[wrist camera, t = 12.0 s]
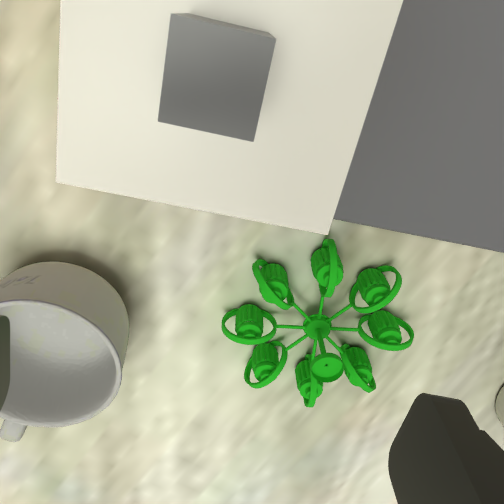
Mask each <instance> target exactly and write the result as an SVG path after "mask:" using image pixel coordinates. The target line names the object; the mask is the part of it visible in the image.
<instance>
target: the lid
mask: <svg viewBox="0 0 504 504" xmlns="http://www.w3.org/2000/svg"><path fill="white" fill-rule="evenodd" d="M402 3H403V0H61V1H60V39H59V76H58V114H57V152H56V183H61V184H67V185H72V186H77V187H82V188H87V189H92V190H97V191H103V192H108V193H113V194H118V195H123V196H128V197H133V198H139V199H144V200H149V201H154V202H159V203H164V204H170V205H175V206H180V207H185V208H190V209H195V210H200V211H206V212H211V213H216V214H221V215H226V216H231V217H236V218H242V219H247V220H252V221H257V222H262V223H267V224H272V225H278V226H283V227H288V228H293V229H298V230H303V231H309V232H314V233H319V234H324V235H328V232H329V229H330V226H331V223H332V220H333V217H334V214H335V211H336V208H337V205H338V201H339V198H340V195H341V192H342V189H343V186H344V183H345V180H346V177H347V174H348V170H349V167H350V164H351V161H352V158H353V155H354V152H355V149H356V146H357V143H358V139H359V136H360V133H361V130H362V127H363V124H364V121H365V118H366V115H367V112H368V108H369V105H370V102H371V99H372V96H373V93H374V90H375V87H376V84H377V80H378V77H379V74H380V71H381V68H382V65H383V62H384V59H385V56H386V53H387V49H388V46H389V43H390V40H391V37H392V34H393V31H394V28H395V25H396V22H397V18H398V15H399V12H400V9H401V6H402Z"/></svg>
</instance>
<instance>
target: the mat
mask: <svg viewBox="0 0 504 504" xmlns="http://www.w3.org/2000/svg"><path fill="white" fill-rule="evenodd" d="M333 219H336V220H341V221H346V222H352V223H357V224H362V225H367V226H372V227H377V228H382V229H387V230H392V231H397V232H402V233H407V234H412V235H417V236H422V237H427V238H432V239H438V240H443V241H448V242H453V243H458V244H463V245H468V246H473V247H478V248H483V249H488V250H493V251H498V252H503V253H504V0H403V3H402V6H401V9H400V12H399V15H398V18H397V22H396V25H395V28H394V31H393V34H392V37H391V40H390V43H389V46H388V49H387V53H386V56H385V59H384V62H383V65H382V68H381V71H380V74H379V77H378V80H377V84H376V87H375V90H374V93H373V96H372V99H371V102H370V105H369V108H368V112H367V115H366V118H365V121H364V124H363V127H362V130H361V133H360V136H359V139H358V143H357V146H356V149H355V152H354V155H353V158H352V161H351V164H350V167H349V170H348V174H347V177H346V180H345V183H344V186H343V189H342V192H341V195H340V198H339V201H338V205H337V208H336V211H335V214H334V217H333Z"/></svg>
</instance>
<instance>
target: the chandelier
mask: <svg viewBox="0 0 504 504" xmlns="http://www.w3.org/2000/svg"><path fill="white" fill-rule="evenodd" d="M328 247H329V248H328ZM328 262H330V263H328ZM324 263H325V264H324ZM259 265H260V266H262V267H263V268H262V269H261V271H260V268H259ZM311 267H312V271H313V275H314V277H315V278H316V279H317V281H318V282H319V289H320V293H321V300H320V307H319V313H318V314H314V315H311V316H309V317H308V316H307V315H306V314H305V313H304V312H303V311H302V310H301V309H300V308H299V307H298V306H297V305H296V304H295V303H294V298H293V295H292V293H291V291H290V289H289V287H288V278H287V272H286V271H285V270H284V268H283V267H282V266H281V265H279V264H275V263H272V264H268V263H267V262H266V261H265V260H262V259H259V260H257V261H256V262H255V263H253V265H252V269H253V273H254V276H255V278H256V280H257V282H258V283H259V290H260V293H261V294H262V297H263V298H264V300H265V301H267V302H269V303H275V304H276V305H277V306H278V307H280V308H282V309H284V310H288V309H289V308H291V307H292V306H294V307H295V308H296V309H297V310H298V311H299V312H300V313H301V314H302V315H303V316H304V317H305V318H306V320H305V321H304V323H303V326H296V325H277V323H276V320H275V318H274V317H273V316H272V315H271V314H269V313H268V312H266V311H264V310H260V309H259V308H258V307H257V306H255V305H252V304H246V305H243V306H241V307H240V308H239V309H233V310H231V311H229V312H227V313H226V314H225V315H224V317H223V319H222V331H223V333H224V334H225V335H226V336H227V337H228V338H229V339H231V340H232V341H235V342H237V343H241V344H246V345H256V344H260V345H258V346H256V347H255V348H254V350H253V354H252V357H251V358H250V360H249V362H248V363H247V366H246V368H245V372H244V379H245V381H246V383H247V384H249V385H250V386H251V387H253V388H261V387H264V386H266V385H268V384H269V383H271V382H272V381H274V380H275V379H276V378H277V376H278V375H279V374H280V372H281V371H282V369H283V367H284V365H285V363H286V360H287V355H288V353H287V351H288V350H289V349H291V348H292V347H294V346H295V345H297V344H298V343H299V342H301V341H302V340H304V339H305V338H307V337H308V336H309V337H310V338H311V339H314V345H313V351H312V354H307V355H306V356H305V360H303V361H301V362H300V363H299V364H298V365H297V366H296V369H295V373H296V380H297V387H298V389H299V391H300V394H301V395H302V396H303V398H304V403H305V406H306V407H313V406H314V404H315V401H316V398H317V397H319V396H320V395H321V394H322V391H323V389H322V387H323V382H332V381H335V380H337V379H338V378H339V377H340V376H341V375H342V374H343V371H345V374H346V376H347V377H348V379H349V381H350V382H351V384H353V385H355V386H359V387H361V388H362V389H363V390H364V391H366V392H368V393H370V392H371V391H373V390H375V389H376V384H375V381H374V378H373V376H372V367H371V364H370V361H369V359H368V356H367V354H366V353H365V351H364V350H363V349H361V348H359V347H350V346H349V345H348V344H344V345H343V346H341V347H339V346H337V345H336V344H335V343H334V342H333V341H332V340H331V339H330V338H329V337H328V335H329V333H330V330H339V331H358V333H359V335H360V336H361V337H362V338H363V339H364V340H365V341H366V342H367V343H369V344H371V345H372V346H375V347H377V348H380V349H384V350H389V351H399V350H404V349H406V348H408V347H409V346H410V345H411V344H412V341H413V338H414V332H413V330H412V328H411V327H410V326H409V325H408V324H407V323H406V322H405V321H403V320H401V319H400V318H398V317H395V316H393V315H392V314H391V313H390V312H388V311H383V310H379V309H381V308H383V307H384V306H386V305H387V304H388V303H390V302H391V301H392V300H393V299H394V297H395V296H396V295H397V293H398V292H399V290H400V287H401V284H402V278H401V275H400V273H399V272H398V271H397V270H396V269H395V268H394V267H392V266H388V265H385V266H379V267H377V268H376V269H374V268H369V269H365V270H364V271H362V272H361V273H360V274H359V276H358V278H357V282H356V283H355V284H354V286H353V288H352V289H351V292H350V295H349V302H350V304H349V305H348V306H346V307H345V308H343V309H342V310H340V311H339V312H337V313H336V314H335V315H333V316H332V317H330V318H328V317H327V316H325V315H323V314H322V308H323V302H324V297H331V296H332V294H333V292H334V289H335V286H336V285H338V284H339V283H340V282H341V281H342V278H343V265H342V263H341V260H340V258H339V255H338V254H337V249H336V244H335V242H334V240H333V239H325V240H324V241H323V243H322V248H320V249H318V250H316V252H314V253H313V254H312V257H311ZM385 271H391V272H394V273H395V274H396V281H395V284H394V286H393V288H392V290H391V291H390V285H389V283H388V281H387V280H386V278H385V276H384V275H383V274H382V273H381V272H385ZM270 273H271V274H270ZM368 276H369V277H368ZM270 279H272V280H270ZM268 280H269V281H268ZM266 281H267V282H266ZM372 285H373V286H372ZM326 287H327V290H326ZM369 287H370V288H369ZM358 290H359V291H360V294H361V296H362V299H364V300H365V301H366V303H367V304H368V305H369V307H357V306H355V296H356V294H357V292H358ZM285 298H287V302H288V304H287V303H285V302H284V301H283V300H284V299H285ZM350 307H353V308H354V309H355V310H356V311H357V312H359V313H372V312H374V313H373V314H372V315H368V314H367V315H365V316H363V317H362V318H361V319H360V320H359V324H358V328H342V327H331V321H332V320H333V319H334V318H336V317H337V316H339V315H340V314H342V313H343V312H345V311H346V310H348V309H349V308H350ZM377 310H379V311H377ZM375 311H376V312H375ZM234 315H236V324H235V331H236V333H237V335H235V334H233V333H231V332H230V331H229V330H228V329H227V328H226V327H225V322H226V321H227V320H228V319H229V318H230V317H232V316H234ZM376 315H377V316H376ZM263 317H265V318H267V319H268V320H269V321H270V322H271V323H272V325H273V327H274V328H273V330H272V331H271V332H270V333H269V334H267V335H265V336H263V337H261V336H262V333H263ZM367 320H369V321H368V325H369V329H370V331H371V334H372V336H373V338H371V337H370V336H368V335H367V334H366V333H365V332H364V331H363V329H362V327H361V325H362V323H364V322H365V321H367ZM247 321H253V322H247ZM244 322H245V323H244ZM380 324H381V325H380ZM398 325H400V326H401V327H403V328H404V329H405V330H406V331H407V332H408V334H409V336H410V339H409V340H408V341H407V342H405V343H402V344H400V343H401V341H402V337H401V332H400V328H399V326H398ZM276 328H292V329H303V330H304V332H305V333H306V335H304V336H303V337H301V338H300V339H298V340H297V341H295V342H294V343H292V344H291V345H290V346H288V347H287V348H286V347H285V346H284V345H283V344H282V343H281V342H279V341H272V342H270V343H269V344H268V343H265V342H267V341H269V340H270V339H272V338H273V336H274V335H275V333H276ZM323 338H326V339H327V340H328V341H329V342H330V343H331V344H332V345H333V346H334V347H335V348H336V349H337V350H338V351H339V352H340V356H341V358H342V360H341V358H340V357H339V356H338V355H336V354H333V353H326V350H325V346H324V342H323ZM317 340H318V342H319V347H320V351H321V354H320V355H318V356H316V357H315V352H316V346H317ZM261 343H262V344H261ZM264 343H265V344H264ZM274 346H281V347H282V356H281V359H280V361H279V358H278V353H277V349H276V348H275V347H274ZM352 349H353V350H352ZM353 352H354V353H353ZM265 359H266V360H265ZM304 364H305V365H304ZM251 369H253V371H254V374H255V377H256V379H257V380H258V381H260V382H257V383H251V382H250V372H251ZM305 370H306V371H305ZM368 383H369V386H368V385H367V384H368Z"/></svg>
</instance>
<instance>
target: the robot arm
mask: <svg viewBox="0 0 504 504" xmlns="http://www.w3.org/2000/svg"><path fill="white" fill-rule="evenodd" d="M9 385H10V321H9V318H8V317H7V316H4V315H0V411H1V409H2V407H3V404H4V402H5V399H6V396H7V393H8V389H9ZM495 408H496V414H497V416H498V418H499V420H500V422H501V423H502V425H503V427H504V386H503V387H502V388H501V390H500V392H499V394H498V396H497V399H496V404H495ZM388 467H389V475H390V479H391V482H392V486H393V489H394V492H395V496H396V499H397V502H398V504H504V451H503V450H502V449H501V448H500V447H499V445H498V444H497V443H496V442H495V441H494V440H493V439H492V438H491V437H490V436H489V435H488V434H487V433H486V432H485V431H482V430H479V428H478V426H477V424H476V423H475V421H474V419H473V417H472V415H471V414H470V412H469V410H468V408H467V406H466V405H465V404H464V403H463V402H462V401H461V400H458V399H453V398H448V397H442V396H437V395H431V394H426V393H422V394H420V395H418V396H417V398H416V399H415V401H414V402H413V404H412V406H411V408H410V410H409V412H408V414H407V416H406V418H405V420H404V422H403V424H402V426H401V427H400V429H399V431H398V433H397V435H396V437H395V439H394V441H393V443H392V445H391V448H390V452H389V461H388Z"/></svg>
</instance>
